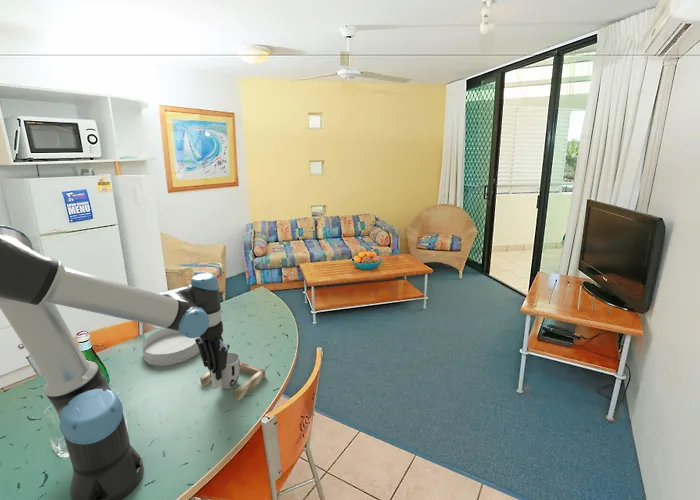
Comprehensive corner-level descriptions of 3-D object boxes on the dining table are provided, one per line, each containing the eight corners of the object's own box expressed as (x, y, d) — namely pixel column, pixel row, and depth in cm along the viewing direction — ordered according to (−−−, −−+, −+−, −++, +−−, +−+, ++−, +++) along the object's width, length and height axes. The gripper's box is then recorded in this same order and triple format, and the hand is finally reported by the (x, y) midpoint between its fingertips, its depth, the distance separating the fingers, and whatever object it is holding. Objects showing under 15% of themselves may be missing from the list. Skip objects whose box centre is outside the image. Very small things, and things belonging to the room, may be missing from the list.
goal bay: (238, 400, 120) (237, 392, 119) (201, 385, 127) (200, 377, 126) (265, 377, 131) (264, 369, 130) (229, 364, 139) (228, 357, 138)
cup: (233, 393, 123) (231, 366, 120) (211, 389, 124) (209, 363, 122) (245, 379, 130) (244, 354, 128) (224, 376, 132) (222, 351, 129)
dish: (166, 373, 134) (164, 361, 133) (131, 355, 145) (128, 344, 143) (215, 344, 152) (214, 333, 151) (180, 330, 163) (179, 320, 161)
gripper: (234, 321, 116) (240, 385, 122) (204, 313, 121) (211, 374, 128) (215, 332, 109) (223, 399, 116) (185, 322, 115) (194, 387, 122)
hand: (217, 386), depth 122 cm, fingers closed
